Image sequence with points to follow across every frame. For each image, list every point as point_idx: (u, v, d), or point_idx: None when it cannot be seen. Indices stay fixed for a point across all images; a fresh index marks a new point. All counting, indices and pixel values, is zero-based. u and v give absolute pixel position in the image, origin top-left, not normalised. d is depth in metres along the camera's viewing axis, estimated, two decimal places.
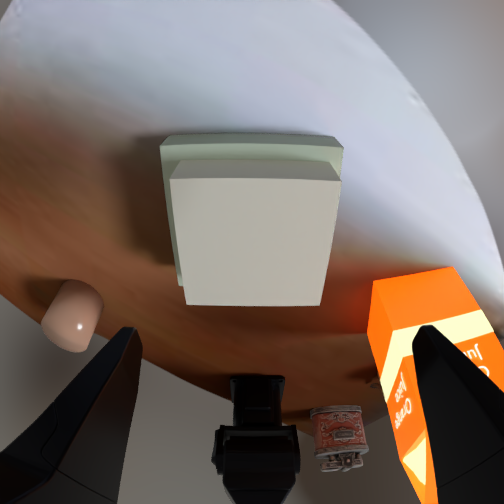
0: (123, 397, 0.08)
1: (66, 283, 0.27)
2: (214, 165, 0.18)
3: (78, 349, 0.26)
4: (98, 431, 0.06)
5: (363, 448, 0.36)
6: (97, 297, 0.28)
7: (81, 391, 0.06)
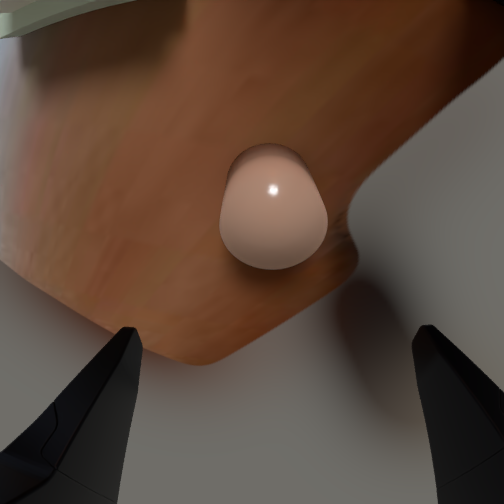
0: (123, 397, 0.08)
1: None
2: None
3: (318, 212, 0.14)
4: (98, 431, 0.06)
5: None
6: (256, 148, 0.17)
7: (81, 391, 0.06)
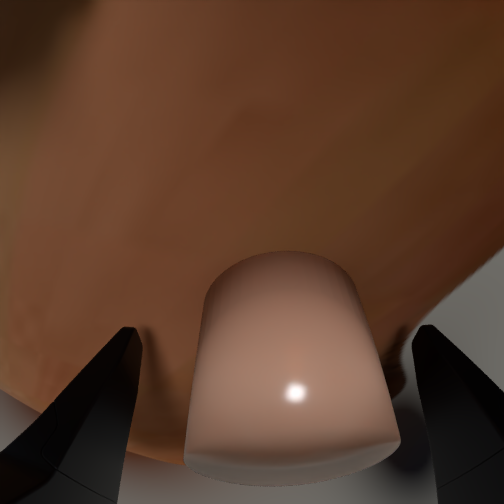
0: (123, 397, 0.08)
1: None
2: None
3: (385, 445, 0.06)
4: (98, 431, 0.06)
5: None
6: (259, 265, 0.08)
7: (81, 391, 0.06)
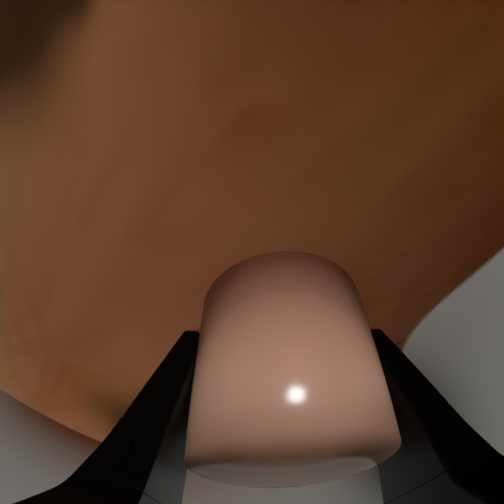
0: None
1: None
2: None
3: (386, 447, 0.06)
4: (173, 443, 0.06)
5: None
6: (259, 267, 0.08)
7: (154, 402, 0.06)
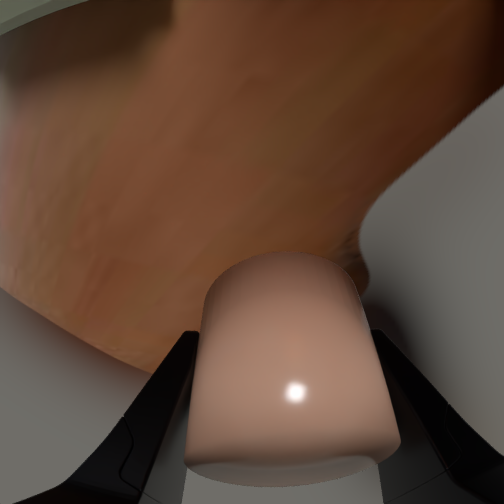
0: None
1: None
2: None
3: (385, 446, 0.06)
4: (173, 443, 0.06)
5: None
6: (259, 266, 0.08)
7: (154, 402, 0.06)
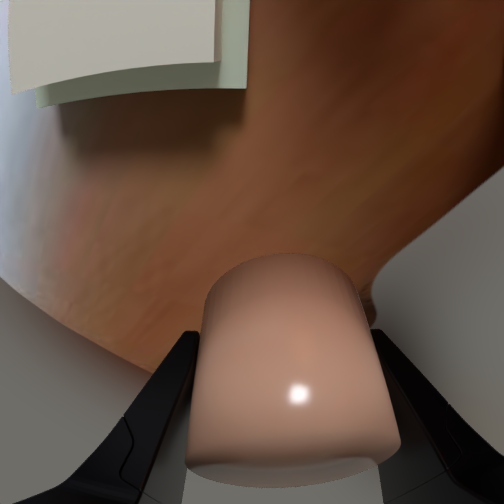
0: (190, 404, 0.08)
1: None
2: None
3: (386, 447, 0.06)
4: (173, 443, 0.06)
5: None
6: (260, 268, 0.08)
7: (154, 402, 0.06)
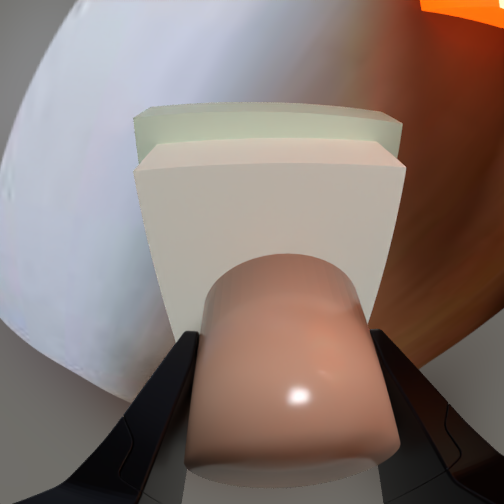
0: None
1: None
2: None
3: (385, 448, 0.06)
4: (173, 443, 0.06)
5: None
6: (259, 269, 0.08)
7: (154, 402, 0.06)
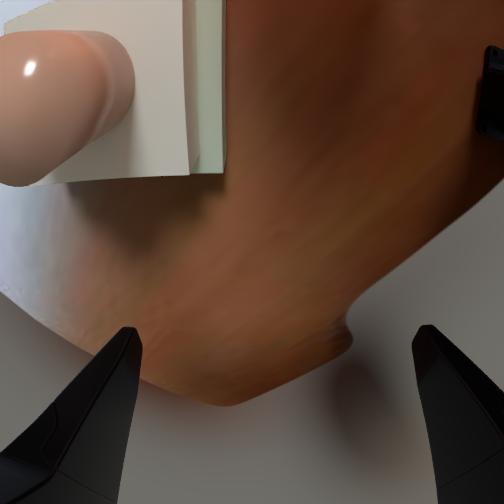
0: (123, 397, 0.08)
1: None
2: None
3: (54, 71, 0.06)
4: (98, 431, 0.06)
5: None
6: None
7: (81, 391, 0.06)
